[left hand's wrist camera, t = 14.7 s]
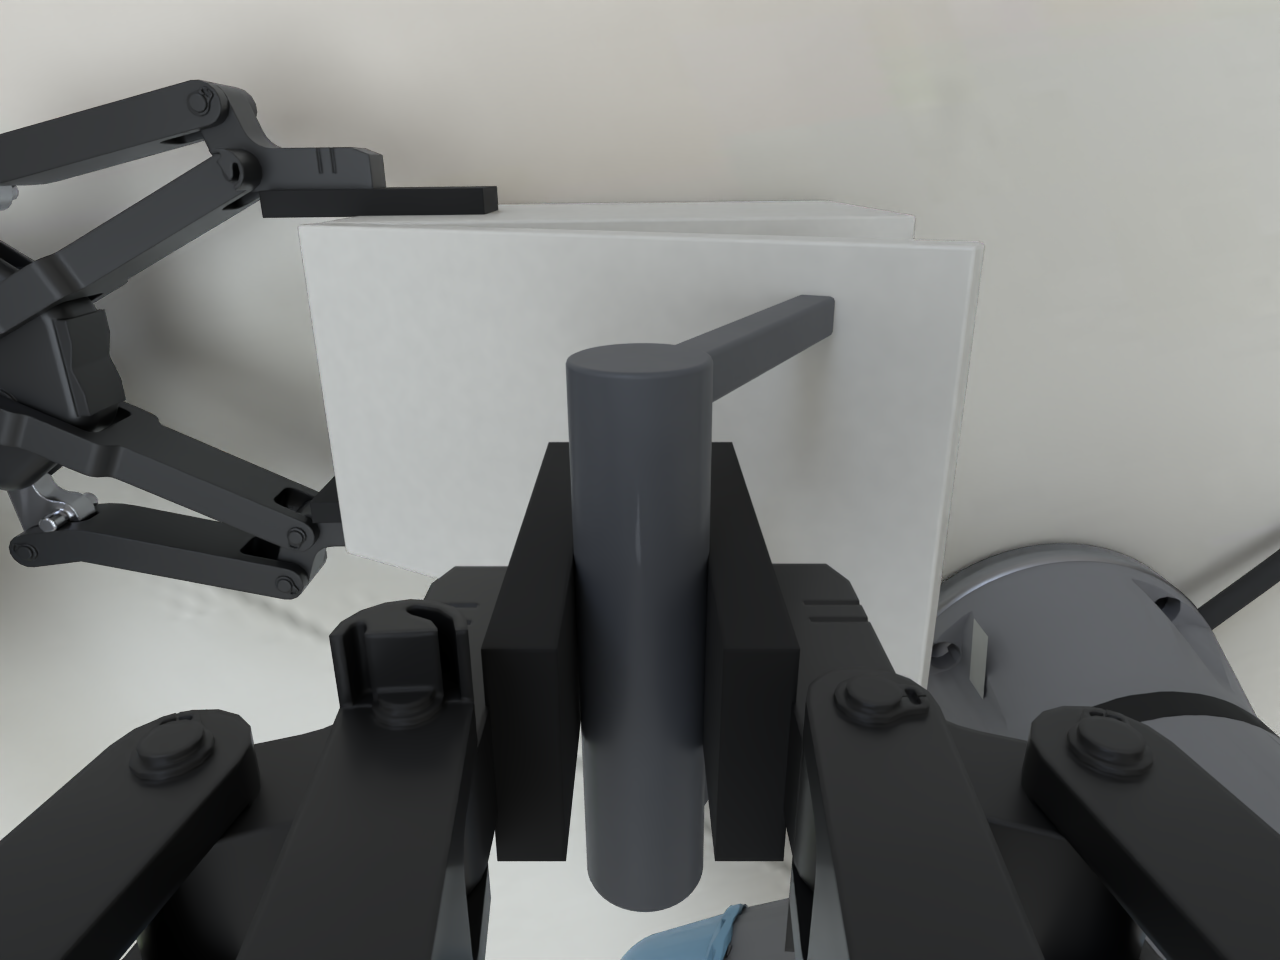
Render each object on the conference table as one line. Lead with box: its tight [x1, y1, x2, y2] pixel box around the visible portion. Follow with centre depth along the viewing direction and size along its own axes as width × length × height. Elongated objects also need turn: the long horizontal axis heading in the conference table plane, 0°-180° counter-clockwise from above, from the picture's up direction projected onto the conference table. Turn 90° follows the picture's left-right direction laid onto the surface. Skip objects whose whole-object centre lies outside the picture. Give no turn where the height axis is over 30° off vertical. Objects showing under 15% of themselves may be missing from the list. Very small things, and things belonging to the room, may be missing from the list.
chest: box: [323, 200, 916, 239], centre depth 28 cm, size 16×9×11 cm, turn 91°
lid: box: [298, 223, 985, 912], centre depth 16 cm, size 16×9×8 cm, turn 91°
